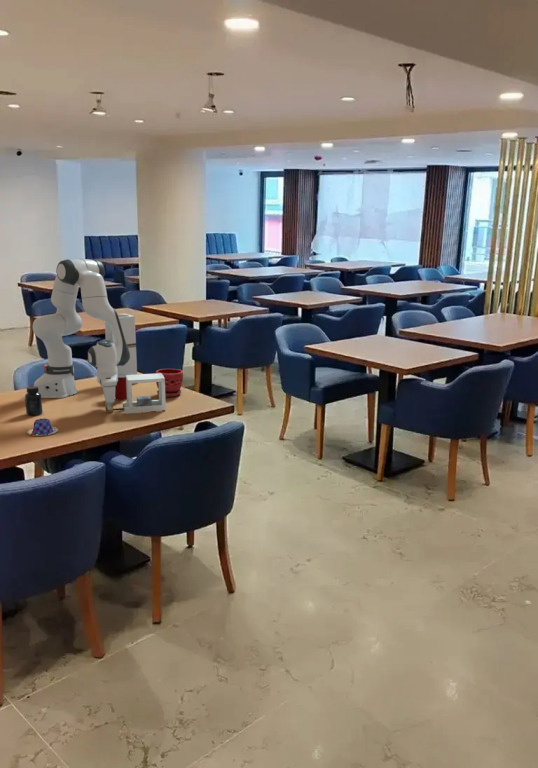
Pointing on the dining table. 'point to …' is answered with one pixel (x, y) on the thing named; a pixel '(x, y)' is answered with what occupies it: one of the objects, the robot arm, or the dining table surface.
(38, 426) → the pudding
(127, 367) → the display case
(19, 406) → the dining table surface
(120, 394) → the plastic cup
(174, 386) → the plant pot
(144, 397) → the grey mallet
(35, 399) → the supplement bottle
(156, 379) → the shelf
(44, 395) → the robot arm
